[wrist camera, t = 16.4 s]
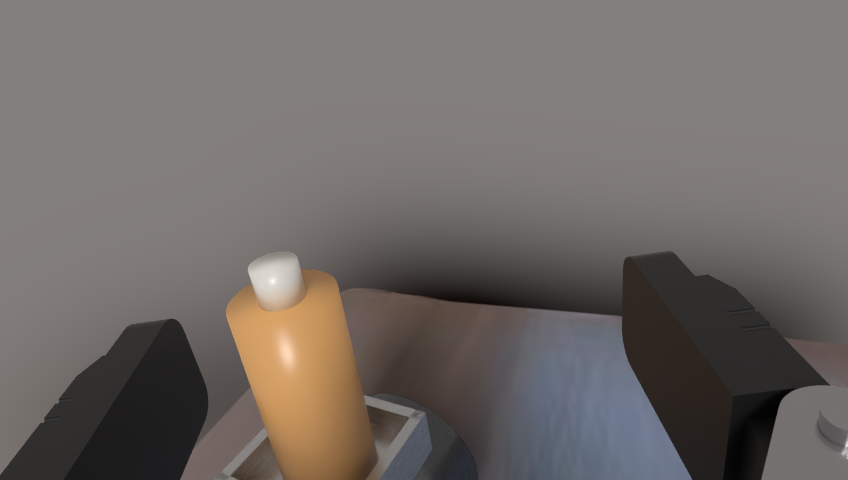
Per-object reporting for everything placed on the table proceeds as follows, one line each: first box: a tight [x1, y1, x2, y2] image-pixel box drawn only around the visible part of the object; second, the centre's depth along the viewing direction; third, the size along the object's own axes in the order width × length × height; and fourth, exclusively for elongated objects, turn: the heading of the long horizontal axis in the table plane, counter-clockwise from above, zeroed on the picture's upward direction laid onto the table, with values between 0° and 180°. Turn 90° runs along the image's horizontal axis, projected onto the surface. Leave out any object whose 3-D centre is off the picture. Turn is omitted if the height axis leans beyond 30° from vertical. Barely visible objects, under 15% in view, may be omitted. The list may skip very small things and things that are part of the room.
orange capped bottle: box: [226, 251, 378, 480], centre depth 31 cm, size 6×6×14 cm
